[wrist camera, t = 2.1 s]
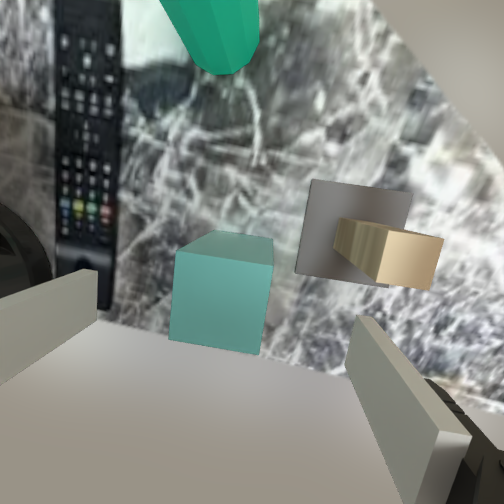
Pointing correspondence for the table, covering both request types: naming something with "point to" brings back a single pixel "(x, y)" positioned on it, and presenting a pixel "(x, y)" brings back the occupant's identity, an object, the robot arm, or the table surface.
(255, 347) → the turquoise rectangular block
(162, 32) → the table surface
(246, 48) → the candle
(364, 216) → the gray square base stand
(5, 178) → the table surface
